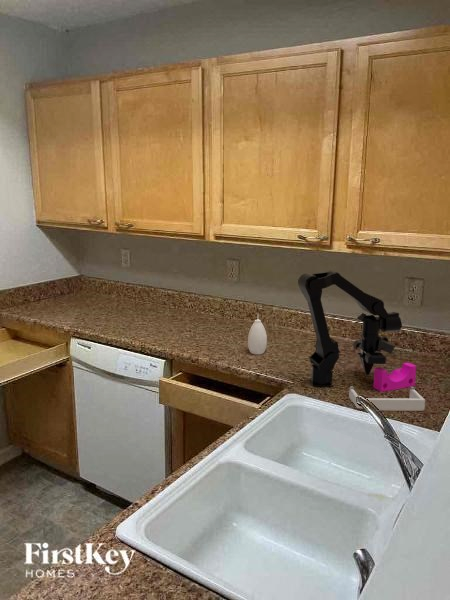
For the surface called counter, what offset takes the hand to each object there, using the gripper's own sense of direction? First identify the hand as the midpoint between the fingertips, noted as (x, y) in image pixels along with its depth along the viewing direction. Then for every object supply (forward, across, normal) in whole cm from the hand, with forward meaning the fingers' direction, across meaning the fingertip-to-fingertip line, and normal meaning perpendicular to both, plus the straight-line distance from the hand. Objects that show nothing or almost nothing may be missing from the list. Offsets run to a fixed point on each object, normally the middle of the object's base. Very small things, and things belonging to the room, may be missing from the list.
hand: (367, 374), depth 166 cm
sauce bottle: (+3, +27, +37) cm, 46 cm away
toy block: (+3, -4, -8) cm, 9 cm away
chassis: (+2, -19, 0) cm, 19 cm away
